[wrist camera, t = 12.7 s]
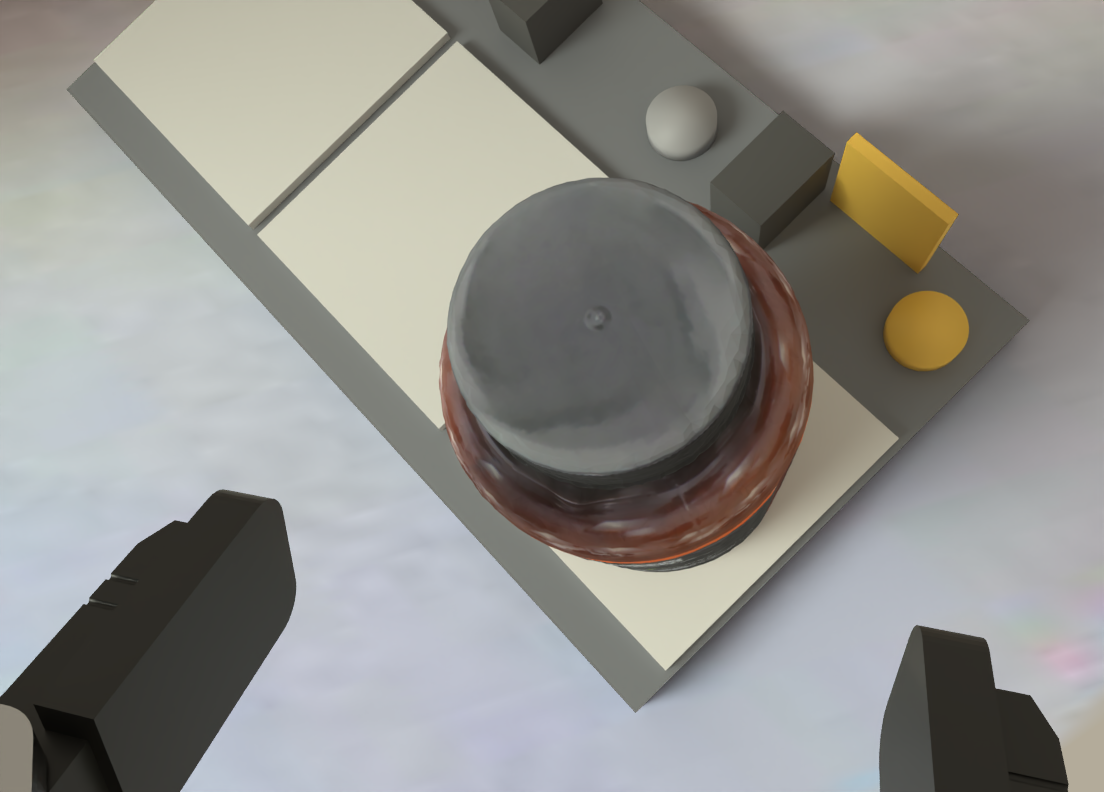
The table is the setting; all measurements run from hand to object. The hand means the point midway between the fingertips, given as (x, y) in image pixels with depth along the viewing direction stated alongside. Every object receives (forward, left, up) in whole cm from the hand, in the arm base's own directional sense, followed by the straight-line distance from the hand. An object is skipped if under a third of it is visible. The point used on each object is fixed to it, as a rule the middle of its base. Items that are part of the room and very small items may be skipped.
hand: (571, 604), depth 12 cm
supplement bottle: (-2, +3, -11) cm, 11 cm away
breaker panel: (-10, +5, -12) cm, 17 cm away
